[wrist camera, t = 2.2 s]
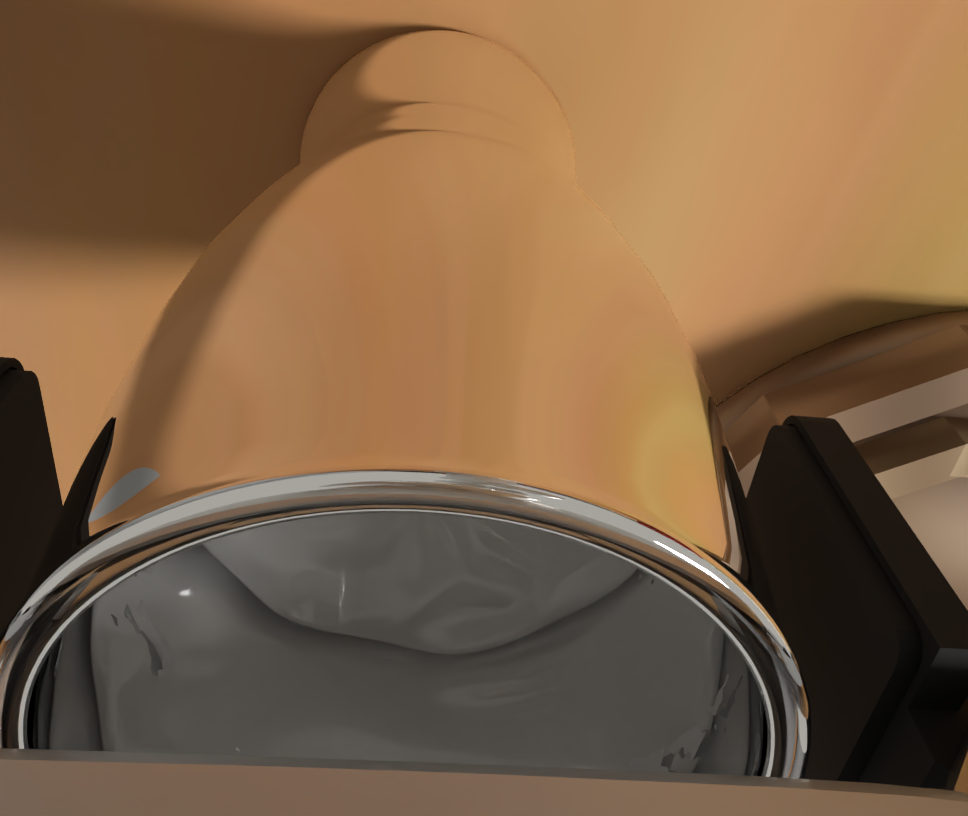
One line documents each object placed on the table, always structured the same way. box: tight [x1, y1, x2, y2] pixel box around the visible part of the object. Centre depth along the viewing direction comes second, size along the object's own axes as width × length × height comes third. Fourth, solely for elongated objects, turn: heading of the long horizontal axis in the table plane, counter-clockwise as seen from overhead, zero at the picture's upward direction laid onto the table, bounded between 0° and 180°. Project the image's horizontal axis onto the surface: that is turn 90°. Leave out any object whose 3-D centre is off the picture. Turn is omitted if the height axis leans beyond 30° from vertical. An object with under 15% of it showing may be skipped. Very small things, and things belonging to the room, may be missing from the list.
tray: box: [716, 310, 968, 610], centre depth 26 cm, size 18×18×3 cm
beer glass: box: [0, 30, 812, 779], centre depth 13 cm, size 7×7×15 cm
